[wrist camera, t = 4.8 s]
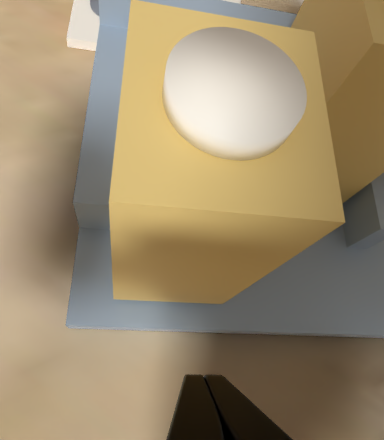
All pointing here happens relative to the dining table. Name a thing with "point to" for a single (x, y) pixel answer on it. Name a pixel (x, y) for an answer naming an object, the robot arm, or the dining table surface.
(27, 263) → the dining table surface
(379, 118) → the key middle
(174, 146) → the key
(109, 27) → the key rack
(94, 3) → the card
